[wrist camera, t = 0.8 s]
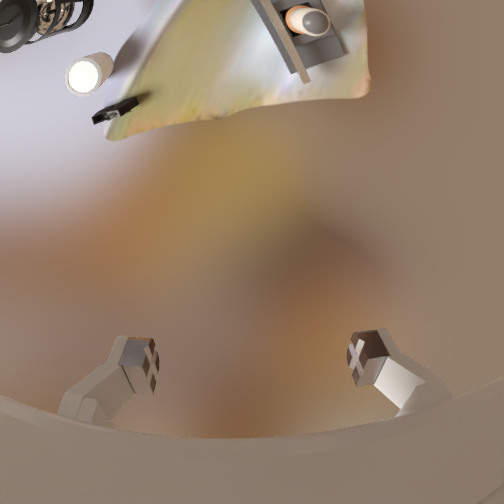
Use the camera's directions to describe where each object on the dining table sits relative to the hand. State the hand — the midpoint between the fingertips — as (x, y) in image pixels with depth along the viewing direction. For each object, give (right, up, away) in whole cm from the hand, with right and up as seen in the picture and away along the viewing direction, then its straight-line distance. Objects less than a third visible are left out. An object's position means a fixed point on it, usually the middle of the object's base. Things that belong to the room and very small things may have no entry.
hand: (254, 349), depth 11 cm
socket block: (+7, +41, +23) cm, 47 cm away
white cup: (-26, +36, +25) cm, 51 cm away
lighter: (-24, +30, +32) cm, 50 cm away
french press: (-31, +44, +15) cm, 56 cm away
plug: (+7, +40, +22) cm, 46 cm away
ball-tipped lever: (+4, +36, +22) cm, 42 cm away
